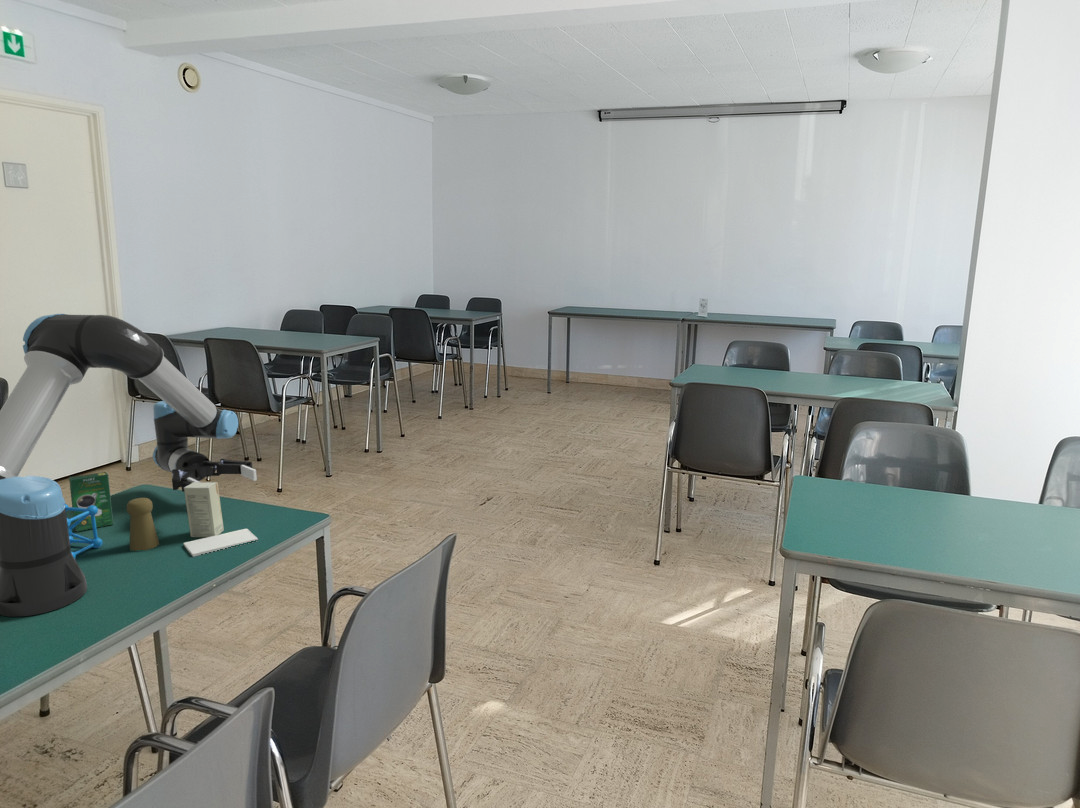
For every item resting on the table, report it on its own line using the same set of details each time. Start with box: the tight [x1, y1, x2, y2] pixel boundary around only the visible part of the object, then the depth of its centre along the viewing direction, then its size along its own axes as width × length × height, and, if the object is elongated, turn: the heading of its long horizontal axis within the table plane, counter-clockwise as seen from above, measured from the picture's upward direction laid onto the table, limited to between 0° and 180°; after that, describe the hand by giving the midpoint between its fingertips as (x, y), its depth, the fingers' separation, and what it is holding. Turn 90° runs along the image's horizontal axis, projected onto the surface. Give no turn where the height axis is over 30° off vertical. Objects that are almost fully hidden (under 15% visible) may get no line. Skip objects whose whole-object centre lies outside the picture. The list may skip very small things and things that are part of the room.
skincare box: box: [183, 481, 225, 538], centre depth 176 cm, size 6×4×12 cm
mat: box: [183, 528, 259, 558], centre depth 172 cm, size 14×8×1 cm, turn 128°
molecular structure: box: [65, 503, 104, 560], centre depth 166 cm, size 10×10×10 cm
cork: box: [125, 497, 160, 552], centre depth 170 cm, size 6×6×11 cm
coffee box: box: [68, 471, 114, 533], centre depth 181 cm, size 8×3×13 cm, turn 129°
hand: (228, 481), depth 184 cm, fingers open, 13 cm apart
